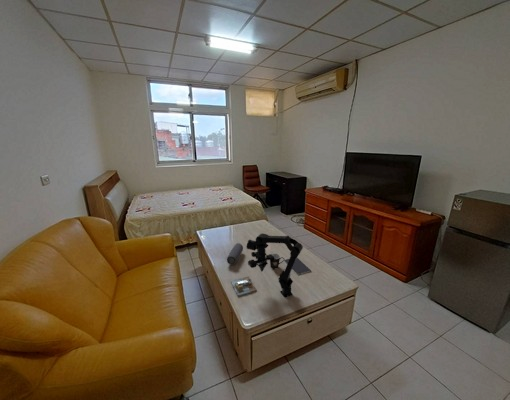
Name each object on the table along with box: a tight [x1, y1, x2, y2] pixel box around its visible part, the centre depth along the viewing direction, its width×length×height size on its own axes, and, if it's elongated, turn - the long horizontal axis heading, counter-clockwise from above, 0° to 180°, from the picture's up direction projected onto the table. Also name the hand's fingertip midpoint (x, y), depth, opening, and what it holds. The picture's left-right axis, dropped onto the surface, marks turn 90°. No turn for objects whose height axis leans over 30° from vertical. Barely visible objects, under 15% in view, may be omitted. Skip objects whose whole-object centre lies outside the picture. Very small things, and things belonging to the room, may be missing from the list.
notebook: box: [283, 257, 312, 276], centre depth 179 cm, size 13×2×21 cm
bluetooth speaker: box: [226, 242, 244, 266], centre depth 188 cm, size 23×9×10 cm, turn 168°
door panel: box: [230, 276, 258, 298], centre depth 154 cm, size 16×14×4 cm
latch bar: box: [238, 278, 252, 286], centre depth 155 cm, size 10×3×3 cm, turn 108°
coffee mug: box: [269, 253, 285, 270], centre depth 176 cm, size 12×9×10 cm
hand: (261, 271), depth 153 cm, fingers closed
